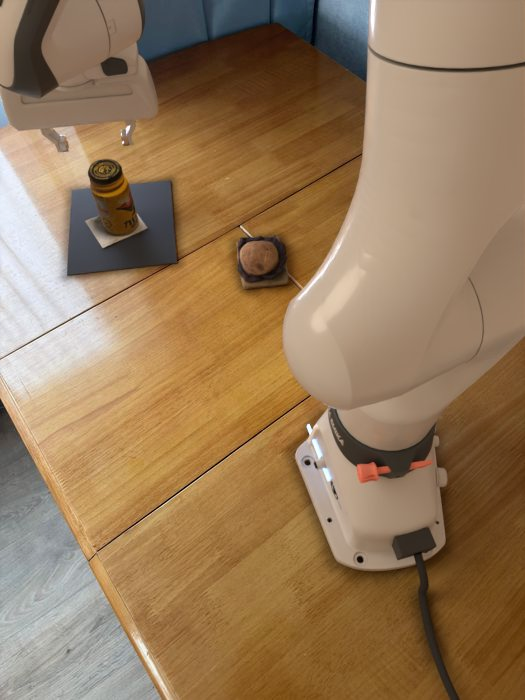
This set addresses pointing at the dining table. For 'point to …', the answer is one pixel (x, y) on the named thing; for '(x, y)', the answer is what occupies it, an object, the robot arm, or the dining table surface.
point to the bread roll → (262, 262)
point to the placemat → (131, 251)
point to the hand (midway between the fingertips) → (96, 146)
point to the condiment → (112, 204)
